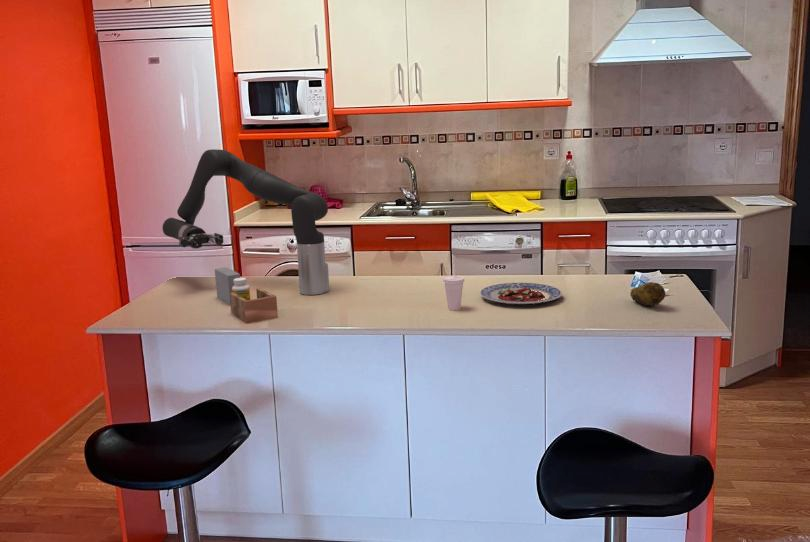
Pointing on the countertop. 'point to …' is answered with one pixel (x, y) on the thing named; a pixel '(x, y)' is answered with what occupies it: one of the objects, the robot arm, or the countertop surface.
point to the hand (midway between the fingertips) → (208, 243)
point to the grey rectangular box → (225, 283)
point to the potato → (648, 293)
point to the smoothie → (454, 290)
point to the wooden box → (254, 306)
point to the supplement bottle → (241, 288)
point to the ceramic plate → (520, 293)
